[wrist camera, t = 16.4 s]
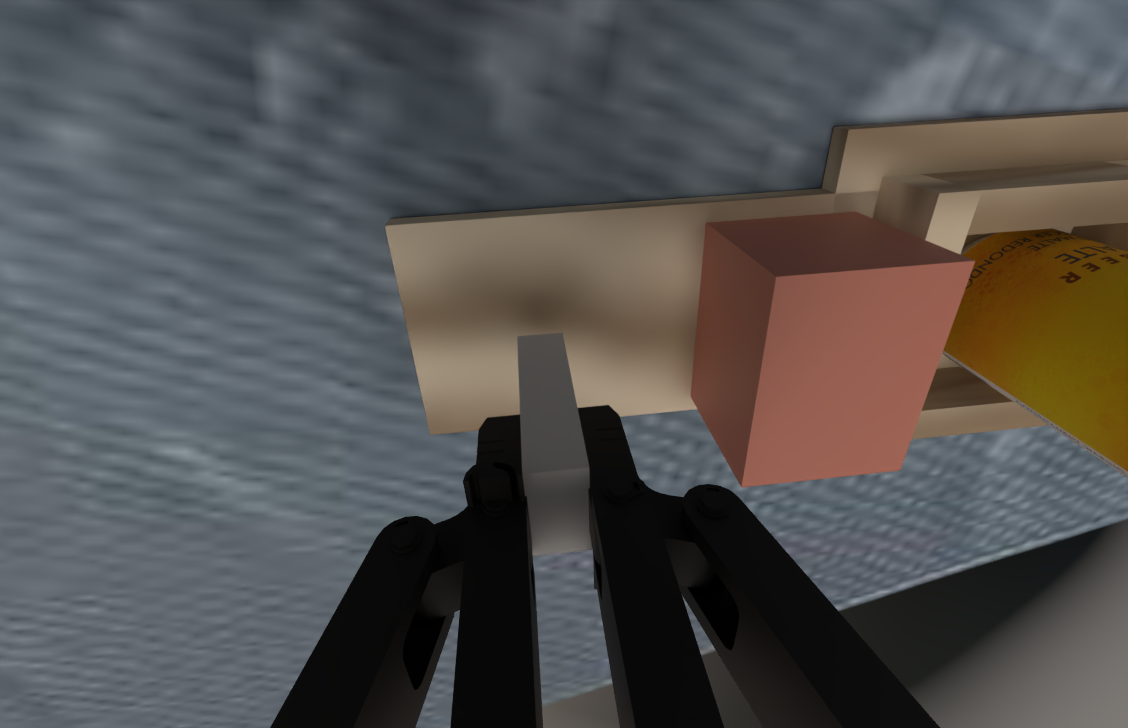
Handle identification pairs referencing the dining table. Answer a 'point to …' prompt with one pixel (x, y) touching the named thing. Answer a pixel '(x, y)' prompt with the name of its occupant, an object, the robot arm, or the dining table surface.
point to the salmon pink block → (819, 342)
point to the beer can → (1051, 332)
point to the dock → (675, 252)
